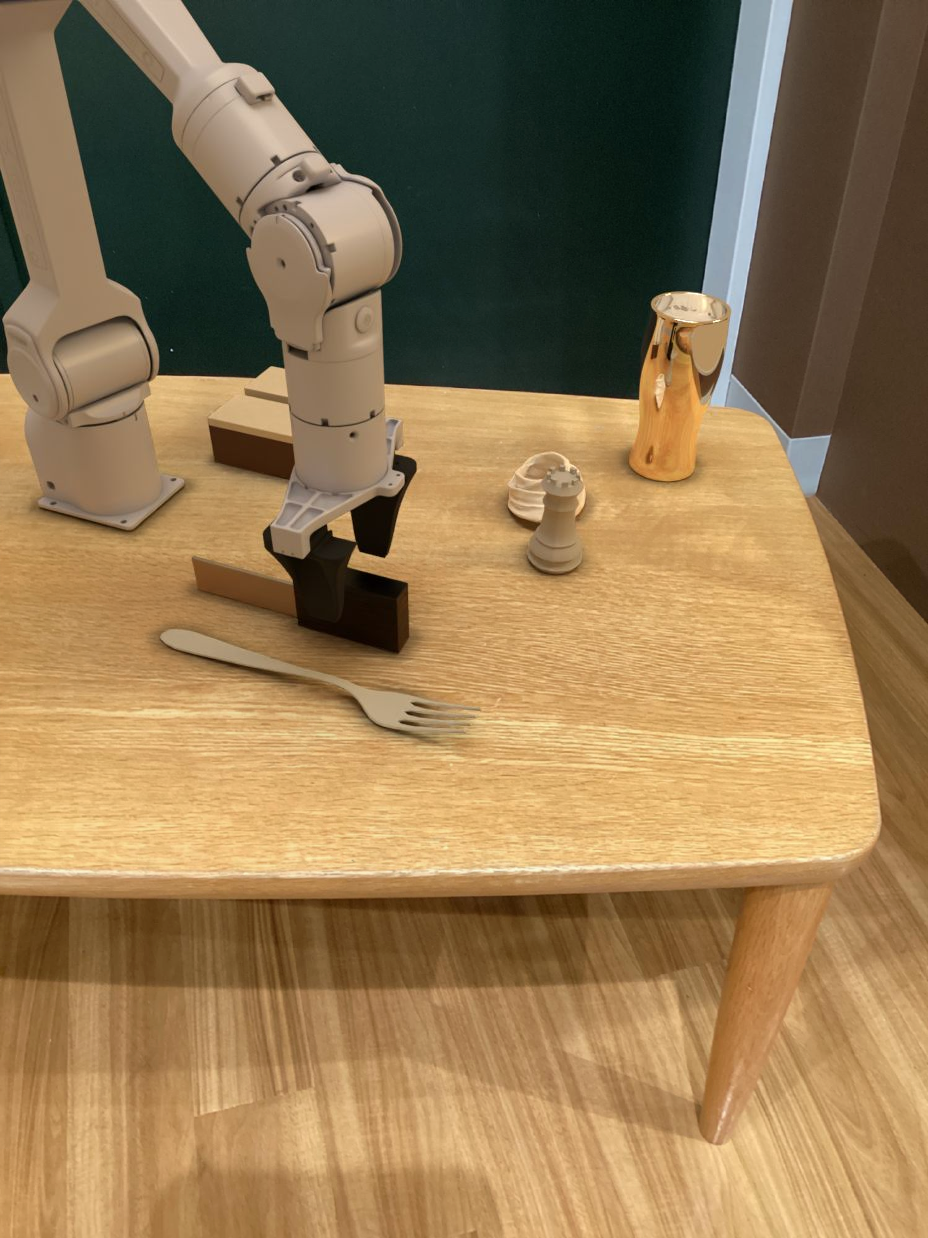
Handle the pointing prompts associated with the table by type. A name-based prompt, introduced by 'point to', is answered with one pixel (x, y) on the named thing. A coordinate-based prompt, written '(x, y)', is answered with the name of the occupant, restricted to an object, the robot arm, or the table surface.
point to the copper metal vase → (677, 380)
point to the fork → (376, 704)
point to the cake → (253, 435)
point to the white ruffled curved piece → (536, 486)
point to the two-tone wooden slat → (366, 616)
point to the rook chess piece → (558, 523)
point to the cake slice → (269, 386)
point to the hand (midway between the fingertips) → (350, 583)
